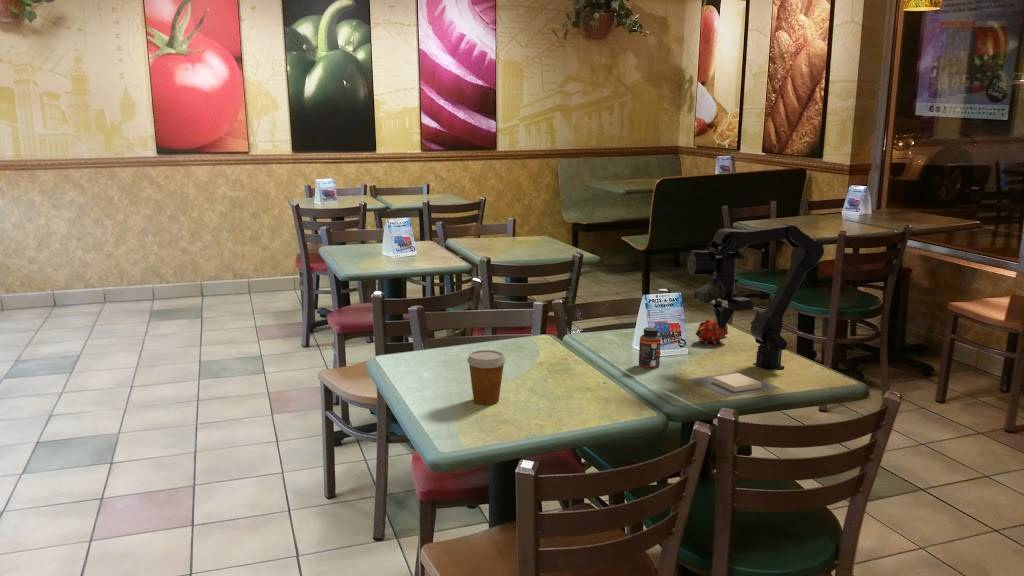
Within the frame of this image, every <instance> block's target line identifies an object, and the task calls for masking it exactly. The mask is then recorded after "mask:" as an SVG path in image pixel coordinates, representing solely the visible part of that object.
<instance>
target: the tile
mask: <svg viewBox="0 0 1024 576" xmlns="http://www.w3.org/2000/svg"><path fill="white" fill-rule="evenodd" d="M712 382H713V383H715V384H718V385H720V386H722V387H725V388H727V389H729V390H731V391H734V392H737V391H743V390H749V389H755V388H761V383H762V382H759V381H757V380H754V379H752V378H749V377H747V376H744V375H742V374H740V373H735V374H729V375H722V376H716V377H712Z"/></svg>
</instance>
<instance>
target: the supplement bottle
mask: <svg viewBox="0 0 1024 576" xmlns="http://www.w3.org/2000/svg"><path fill="white" fill-rule="evenodd" d="M658 333H659V330H658V328H656V327H653V326H652V327H647V326H645V327H644V328H643V334H641V336H640V337H639V349H638V350H639V351H638V366H639V367H640V368H644V369H653V370H654V369H657V368H659V367H660V364H661V363H660V362H661V361H660V360H661V344H662V342H661V341H662V339H661V338H662V337H661V336H660V335H659V334H658Z"/></svg>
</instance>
